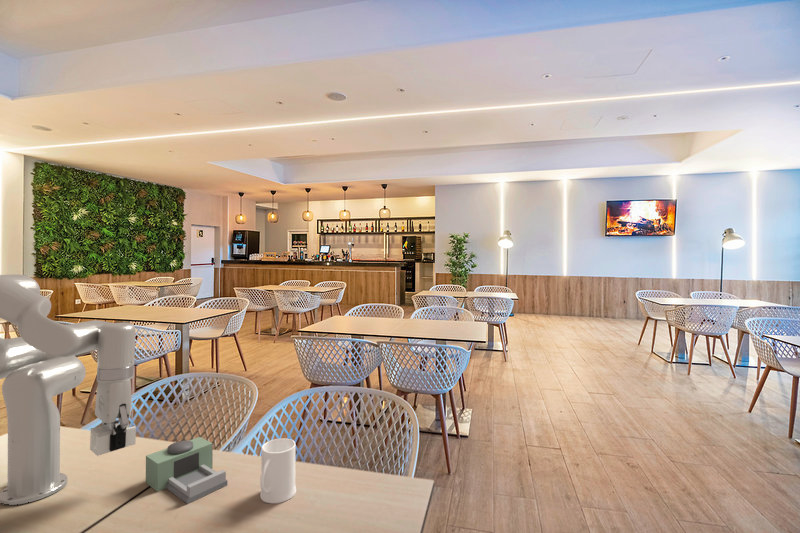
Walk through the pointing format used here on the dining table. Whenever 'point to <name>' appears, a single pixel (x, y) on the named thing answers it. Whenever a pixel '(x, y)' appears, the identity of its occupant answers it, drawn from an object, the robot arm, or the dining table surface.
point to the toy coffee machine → (185, 470)
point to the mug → (278, 471)
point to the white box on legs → (108, 438)
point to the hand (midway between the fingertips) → (113, 444)
